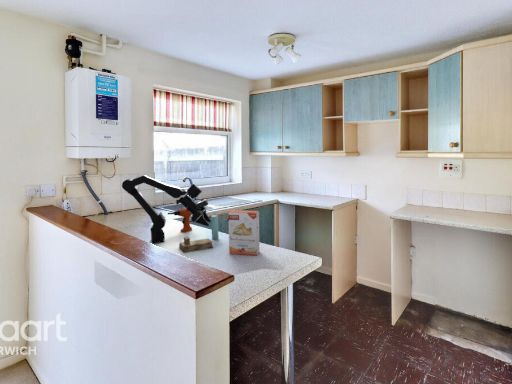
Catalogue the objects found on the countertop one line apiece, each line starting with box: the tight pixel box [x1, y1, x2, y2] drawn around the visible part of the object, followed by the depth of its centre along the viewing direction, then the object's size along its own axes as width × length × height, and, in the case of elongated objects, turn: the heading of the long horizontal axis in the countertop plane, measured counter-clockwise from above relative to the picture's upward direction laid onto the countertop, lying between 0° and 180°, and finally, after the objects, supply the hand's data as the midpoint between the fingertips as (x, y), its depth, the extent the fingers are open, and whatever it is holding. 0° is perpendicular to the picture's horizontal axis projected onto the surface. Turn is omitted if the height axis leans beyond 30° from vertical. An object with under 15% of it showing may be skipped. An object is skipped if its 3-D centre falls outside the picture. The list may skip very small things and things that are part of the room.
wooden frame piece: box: [178, 242, 214, 253], centre depth 167 cm, size 15×9×2 cm, turn 116°
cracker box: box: [227, 209, 260, 256], centre depth 156 cm, size 14×6×21 cm, turn 76°
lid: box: [179, 236, 214, 247], centre depth 167 cm, size 15×7×4 cm, turn 116°
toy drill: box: [167, 208, 193, 233], centre depth 196 cm, size 5×19×15 cm, turn 144°
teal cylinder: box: [210, 215, 219, 241], centre depth 182 cm, size 4×4×13 cm
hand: (209, 223), depth 182 cm, fingers open, 9 cm apart
